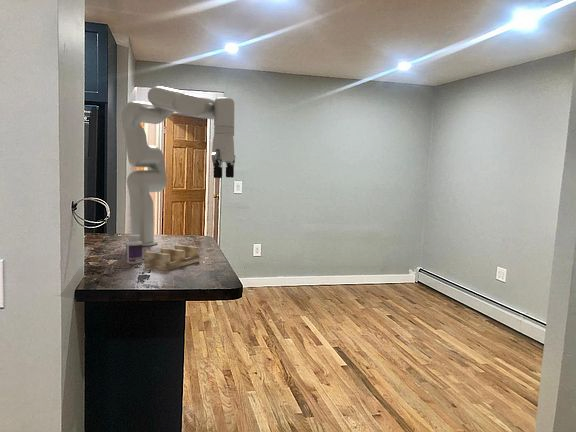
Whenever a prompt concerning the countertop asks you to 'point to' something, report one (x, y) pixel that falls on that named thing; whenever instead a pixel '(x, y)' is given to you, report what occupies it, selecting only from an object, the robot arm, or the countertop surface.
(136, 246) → the pill bottle
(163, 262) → the rack
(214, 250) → the countertop surface
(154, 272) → the countertop surface
